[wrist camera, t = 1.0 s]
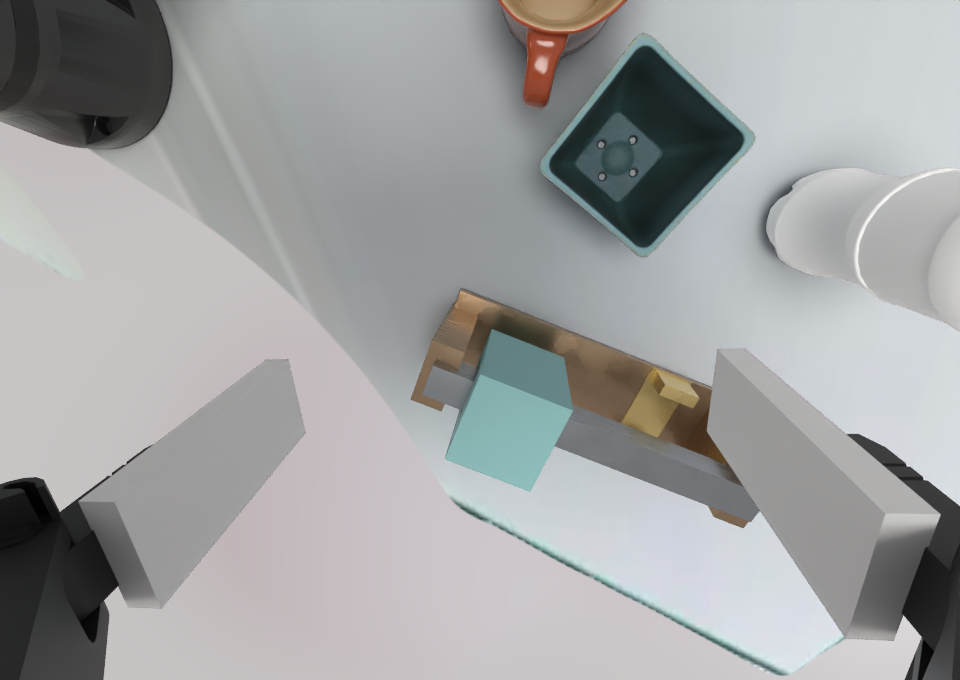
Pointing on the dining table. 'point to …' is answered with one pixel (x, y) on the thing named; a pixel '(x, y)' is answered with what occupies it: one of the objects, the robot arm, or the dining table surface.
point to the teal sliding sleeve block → (512, 412)
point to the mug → (552, 37)
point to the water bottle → (877, 235)
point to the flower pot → (646, 147)
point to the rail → (599, 404)
